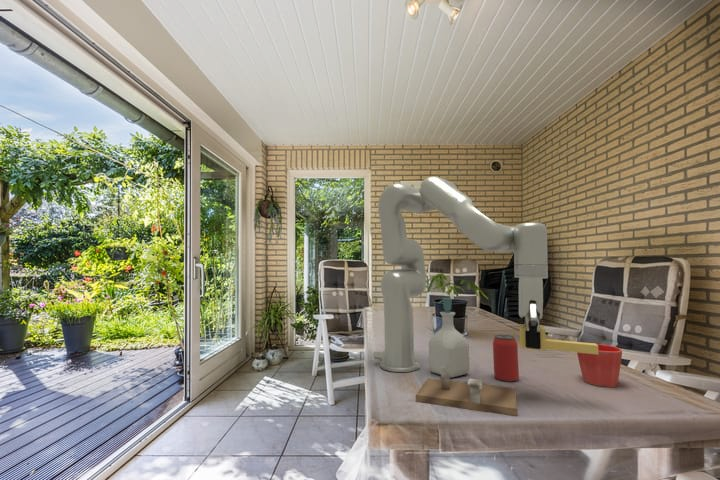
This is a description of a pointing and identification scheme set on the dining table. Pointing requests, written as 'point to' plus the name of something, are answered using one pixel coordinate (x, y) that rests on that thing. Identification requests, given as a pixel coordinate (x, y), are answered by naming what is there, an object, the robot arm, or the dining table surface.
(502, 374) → the beer can
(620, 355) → the flower pot
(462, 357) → the soap bottle
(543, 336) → the link
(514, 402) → the bracket base
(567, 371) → the dining table surface
